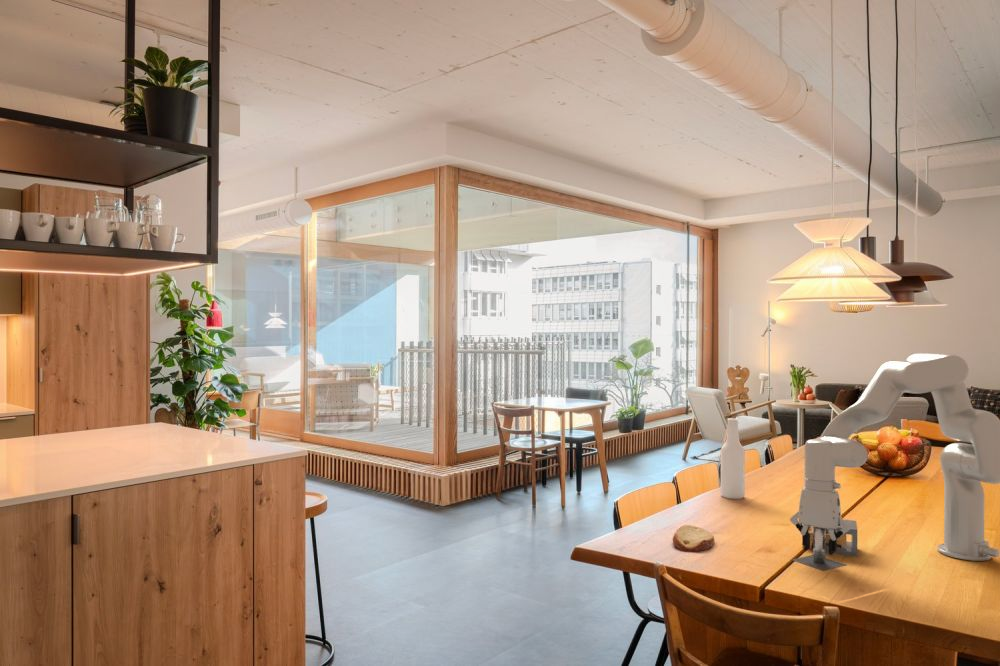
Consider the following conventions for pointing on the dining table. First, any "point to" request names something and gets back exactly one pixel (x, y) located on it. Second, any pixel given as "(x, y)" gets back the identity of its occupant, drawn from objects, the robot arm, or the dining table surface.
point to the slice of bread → (692, 539)
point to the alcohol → (732, 463)
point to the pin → (819, 545)
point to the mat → (823, 567)
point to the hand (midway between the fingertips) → (819, 550)
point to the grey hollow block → (841, 540)
